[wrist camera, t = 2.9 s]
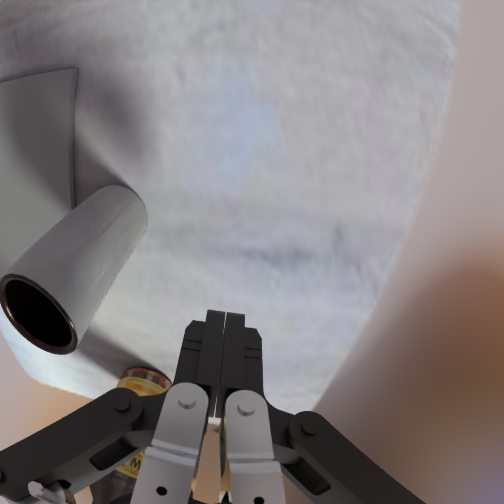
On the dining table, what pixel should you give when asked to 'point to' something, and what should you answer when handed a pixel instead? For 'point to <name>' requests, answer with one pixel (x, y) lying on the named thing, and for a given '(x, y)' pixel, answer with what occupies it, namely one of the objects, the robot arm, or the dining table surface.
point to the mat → (35, 159)
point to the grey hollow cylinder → (72, 269)
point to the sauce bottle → (127, 473)
